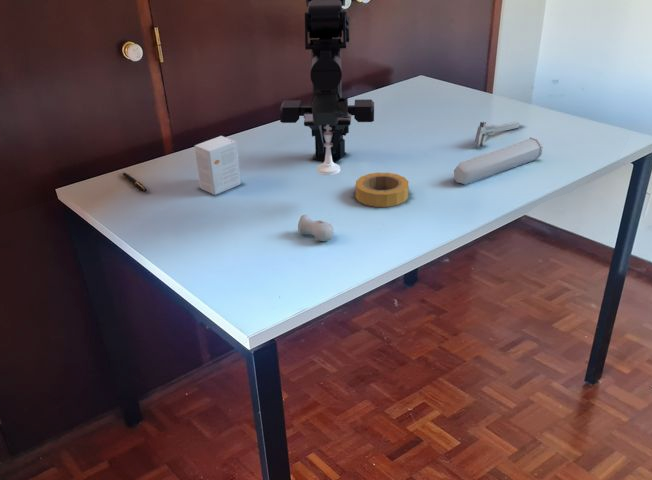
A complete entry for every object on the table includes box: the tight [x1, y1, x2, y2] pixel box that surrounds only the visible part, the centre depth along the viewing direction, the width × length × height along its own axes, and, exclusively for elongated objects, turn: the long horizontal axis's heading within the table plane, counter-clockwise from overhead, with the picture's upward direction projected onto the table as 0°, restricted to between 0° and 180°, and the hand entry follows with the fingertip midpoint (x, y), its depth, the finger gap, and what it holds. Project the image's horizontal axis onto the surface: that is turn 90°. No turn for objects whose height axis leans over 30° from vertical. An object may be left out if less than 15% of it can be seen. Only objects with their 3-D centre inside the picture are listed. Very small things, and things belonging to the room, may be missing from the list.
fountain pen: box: [121, 171, 147, 193], centre depth 167 cm, size 14×1×2 cm, turn 36°
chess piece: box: [316, 125, 341, 176], centre depth 147 cm, size 5×5×10 cm
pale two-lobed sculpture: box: [297, 213, 335, 242], centre depth 143 cm, size 4×8×5 cm
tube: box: [453, 136, 543, 186], centre depth 165 cm, size 5×5×25 cm
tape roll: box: [355, 172, 410, 208], centre depth 157 cm, size 12×12×3 cm
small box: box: [194, 135, 242, 196], centre depth 162 cm, size 8×6×10 cm
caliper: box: [474, 121, 522, 148], centre depth 182 cm, size 20×1×6 cm, turn 137°
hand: (328, 152), depth 147 cm, fingers closed on chess piece, 2 cm apart
